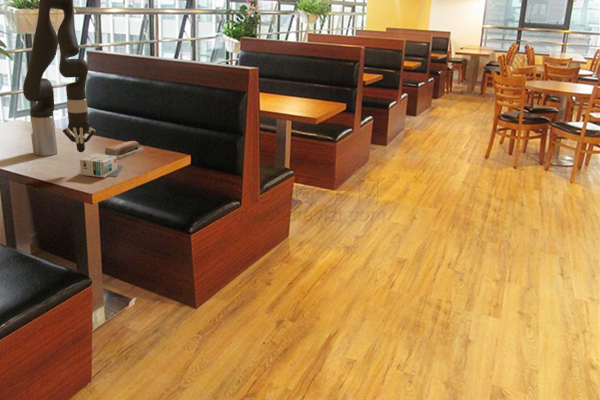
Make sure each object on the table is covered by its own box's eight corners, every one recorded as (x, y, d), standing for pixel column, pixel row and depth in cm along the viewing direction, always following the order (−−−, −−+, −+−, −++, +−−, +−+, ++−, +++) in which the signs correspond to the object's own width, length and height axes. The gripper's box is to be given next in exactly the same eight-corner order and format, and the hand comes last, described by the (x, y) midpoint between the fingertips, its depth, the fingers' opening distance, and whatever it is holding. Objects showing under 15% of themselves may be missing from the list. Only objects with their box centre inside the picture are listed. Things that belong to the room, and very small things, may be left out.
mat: (86, 176, 227) (86, 175, 227) (94, 165, 240) (94, 165, 240) (116, 176, 228) (116, 175, 228) (123, 166, 241) (123, 165, 241)
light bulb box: (80, 175, 227) (104, 178, 225) (78, 159, 224) (103, 162, 222) (94, 167, 236) (118, 170, 235) (93, 152, 234) (117, 155, 232)
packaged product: (118, 150, 248) (100, 146, 252) (118, 160, 250) (101, 157, 253) (144, 141, 264) (127, 138, 267) (144, 151, 265) (127, 148, 269)
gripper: (57, 111, 219) (61, 154, 225) (92, 112, 220) (95, 154, 227) (63, 107, 226) (67, 148, 232) (96, 108, 227) (100, 149, 234)
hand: (81, 151), depth 229 cm, fingers closed
